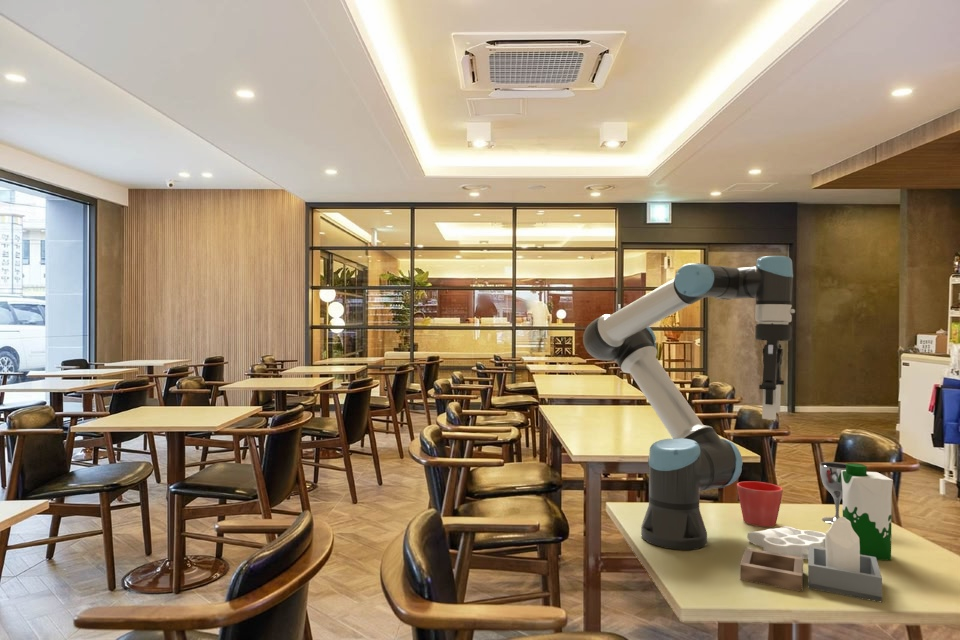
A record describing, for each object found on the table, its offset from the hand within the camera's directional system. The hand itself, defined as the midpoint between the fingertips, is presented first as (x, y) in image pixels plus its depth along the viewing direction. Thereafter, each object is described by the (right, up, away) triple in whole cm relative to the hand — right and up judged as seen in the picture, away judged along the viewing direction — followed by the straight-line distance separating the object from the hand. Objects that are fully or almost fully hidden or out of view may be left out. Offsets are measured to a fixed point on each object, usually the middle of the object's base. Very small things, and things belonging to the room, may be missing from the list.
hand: (771, 415), depth 137 cm
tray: (+5, -31, -18) cm, 36 cm away
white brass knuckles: (+5, -32, +1) cm, 32 cm away
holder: (-7, -31, -15) cm, 35 cm away
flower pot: (+6, -32, +20) cm, 38 cm away
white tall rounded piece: (+5, -30, -18) cm, 35 cm away
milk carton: (+21, -31, -2) cm, 38 cm away
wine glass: (+28, -32, +21) cm, 48 cm away
